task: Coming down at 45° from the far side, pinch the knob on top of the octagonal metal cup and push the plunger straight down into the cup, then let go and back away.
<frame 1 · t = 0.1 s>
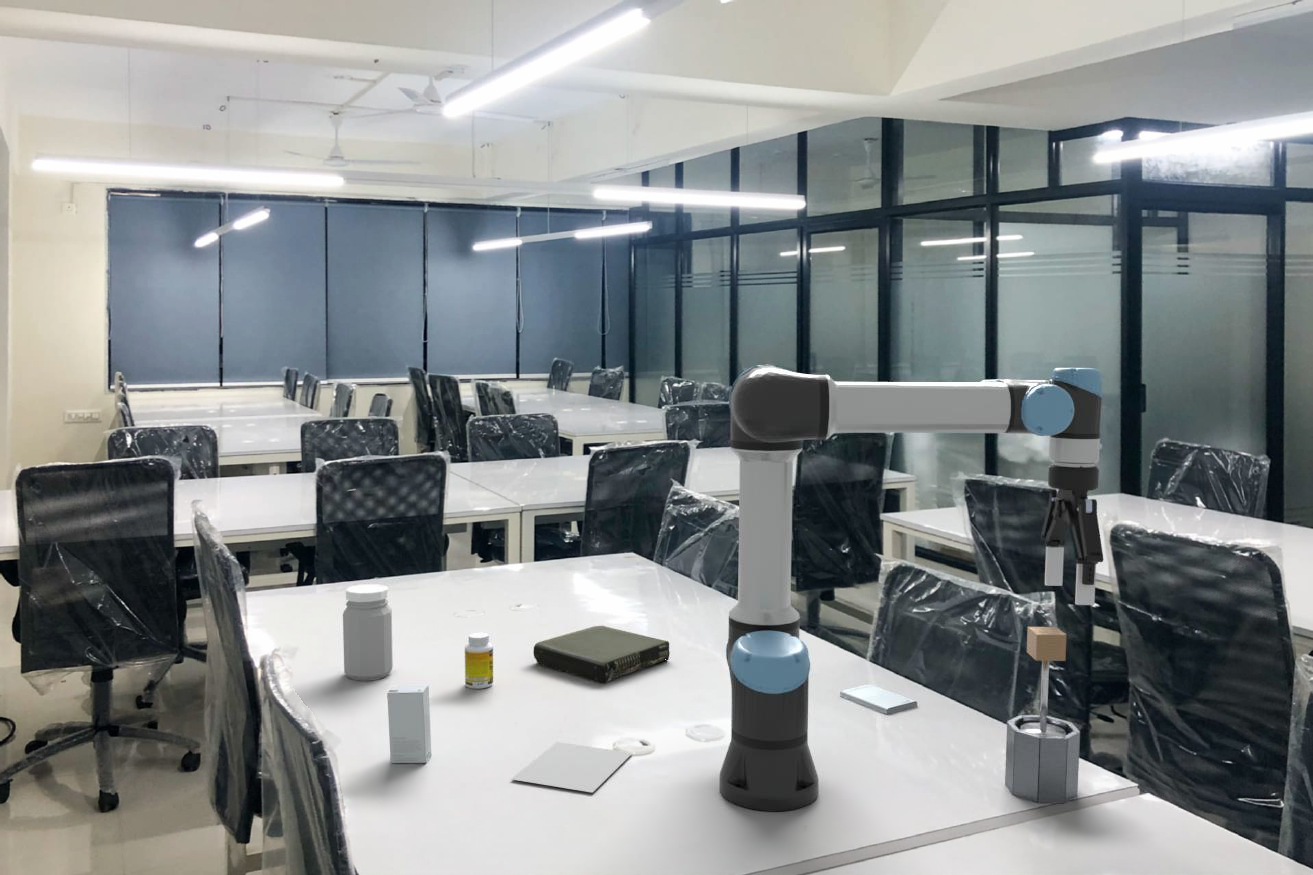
hand: (1068, 594, 175), 28 cm above the table, tool pointing down, fingers open, 13 cm apart
skincare box: (410, 760, 177), on the table
supplement bottle: (479, 686, 215), on the table
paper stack: (558, 757, 180), on the table
octagonal metal cup: (1040, 789, 166), on the table
hard drive: (878, 704, 207), on the table
jar: (368, 675, 222), on the table
network switch: (601, 665, 230), on the table
plunger: (1044, 683, 165), point 17 cm above the table, slide at 0.0 cm
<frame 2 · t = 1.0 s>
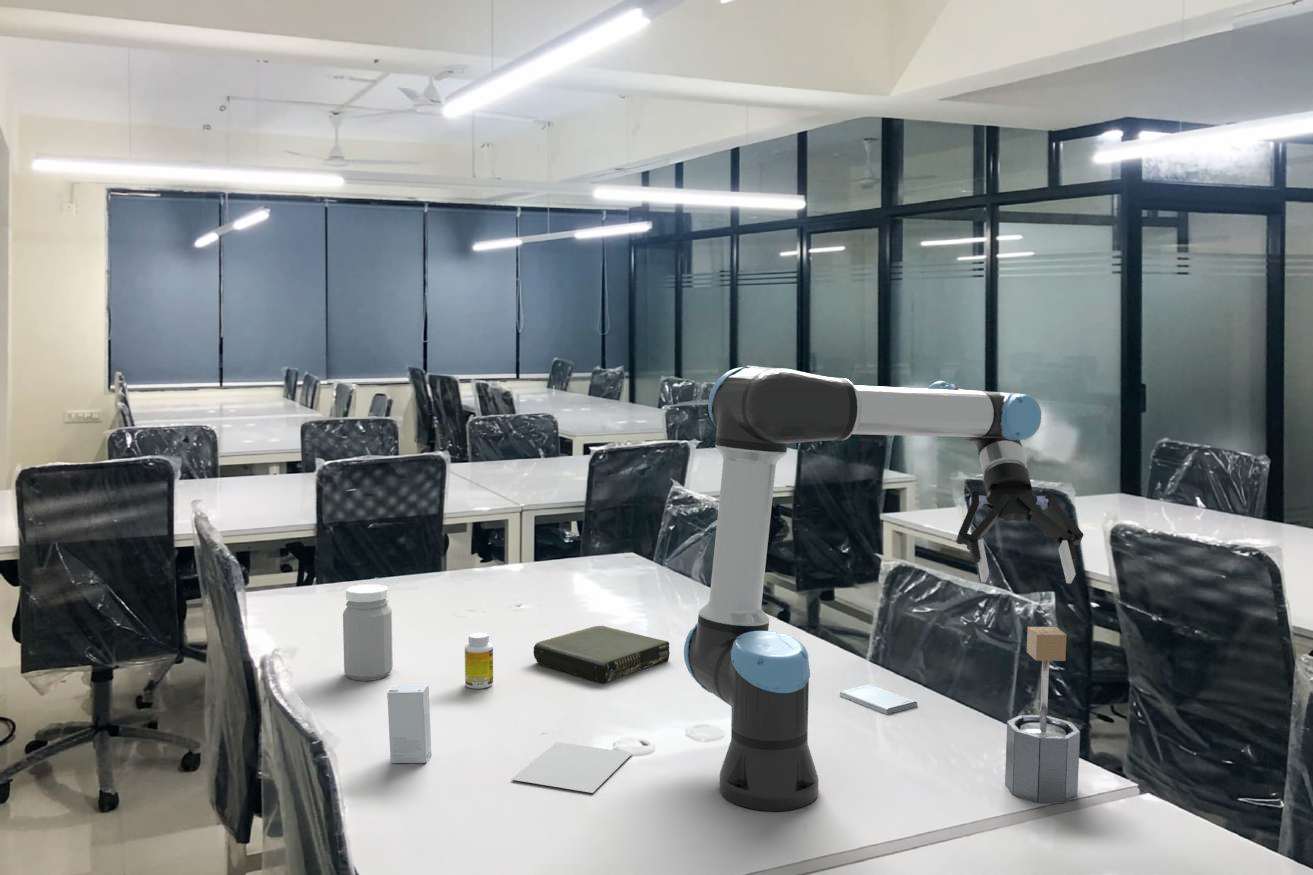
hand: (1028, 578, 173), 31 cm above the table, tool tilted 45°, fingers open, 13 cm apart
nothing on the table moved.
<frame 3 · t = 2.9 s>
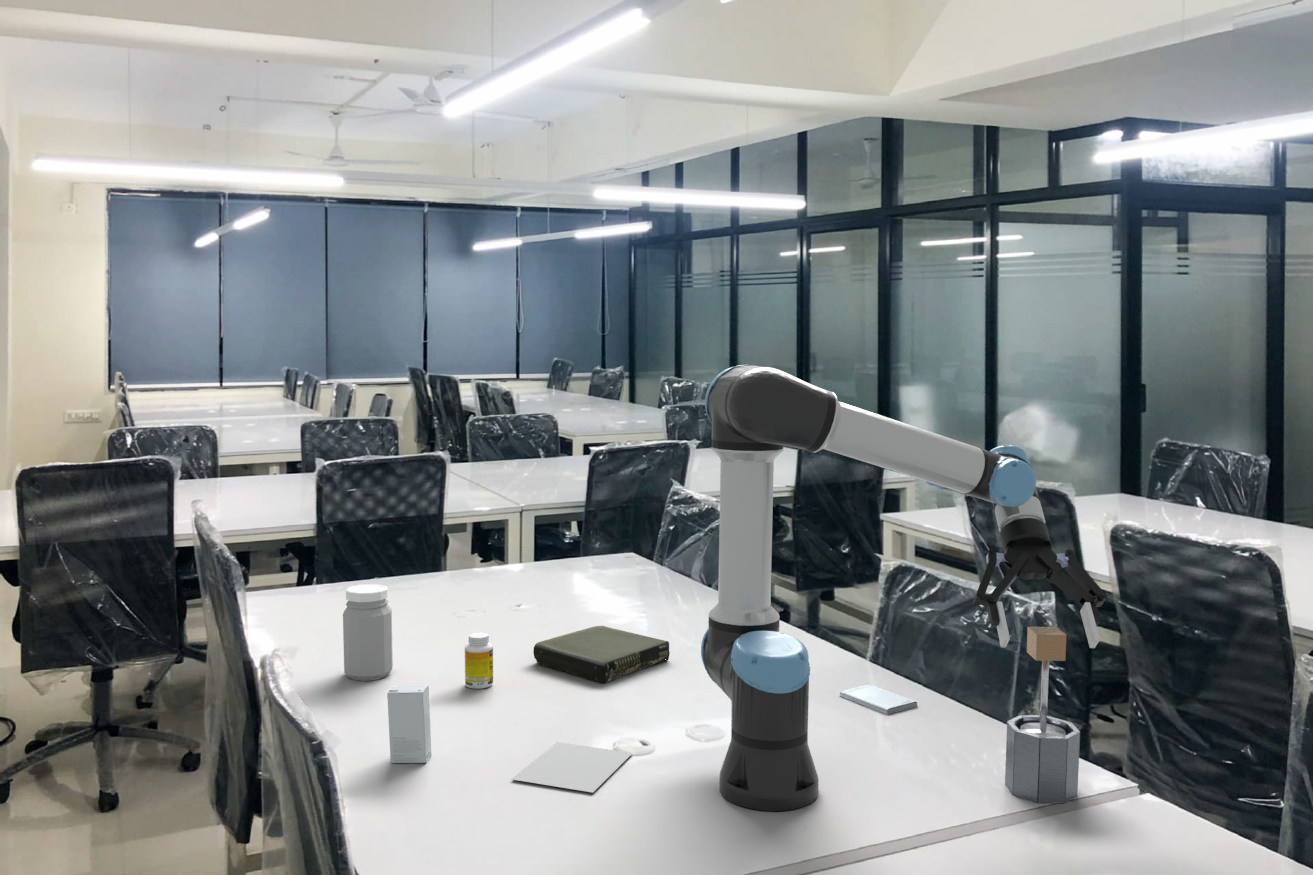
hand: (1050, 643, 165), 23 cm above the table, tool tilted 45°, fingers open, 13 cm apart
nothing on the table moved.
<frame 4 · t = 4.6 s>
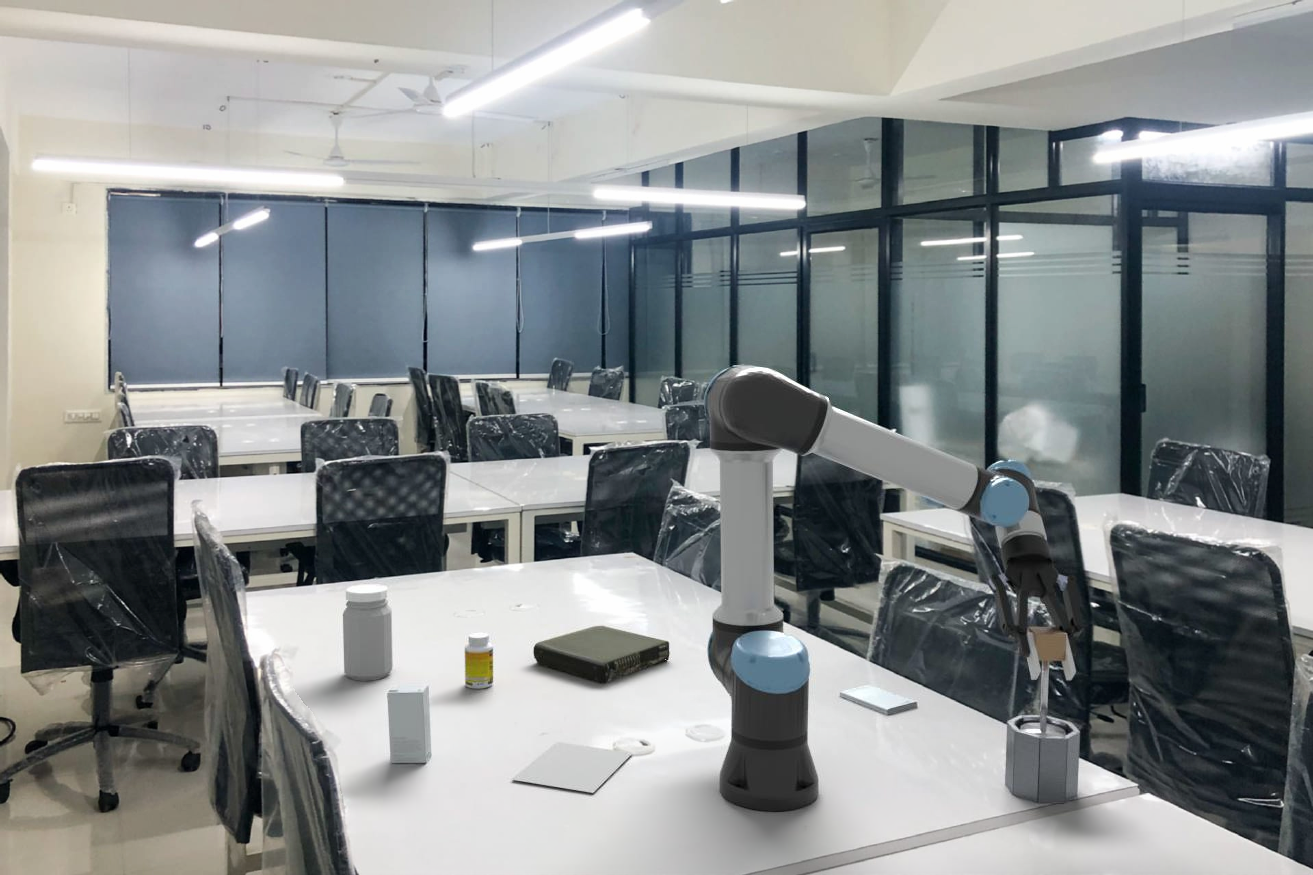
hand: (1053, 675, 161), 19 cm above the table, tool tilted 45°, fingers closed on plunger, 4 cm apart
plunger: (1044, 683, 165), point 17 cm above the table, slide at 0.0 cm, touching gripper
everything else where it was.
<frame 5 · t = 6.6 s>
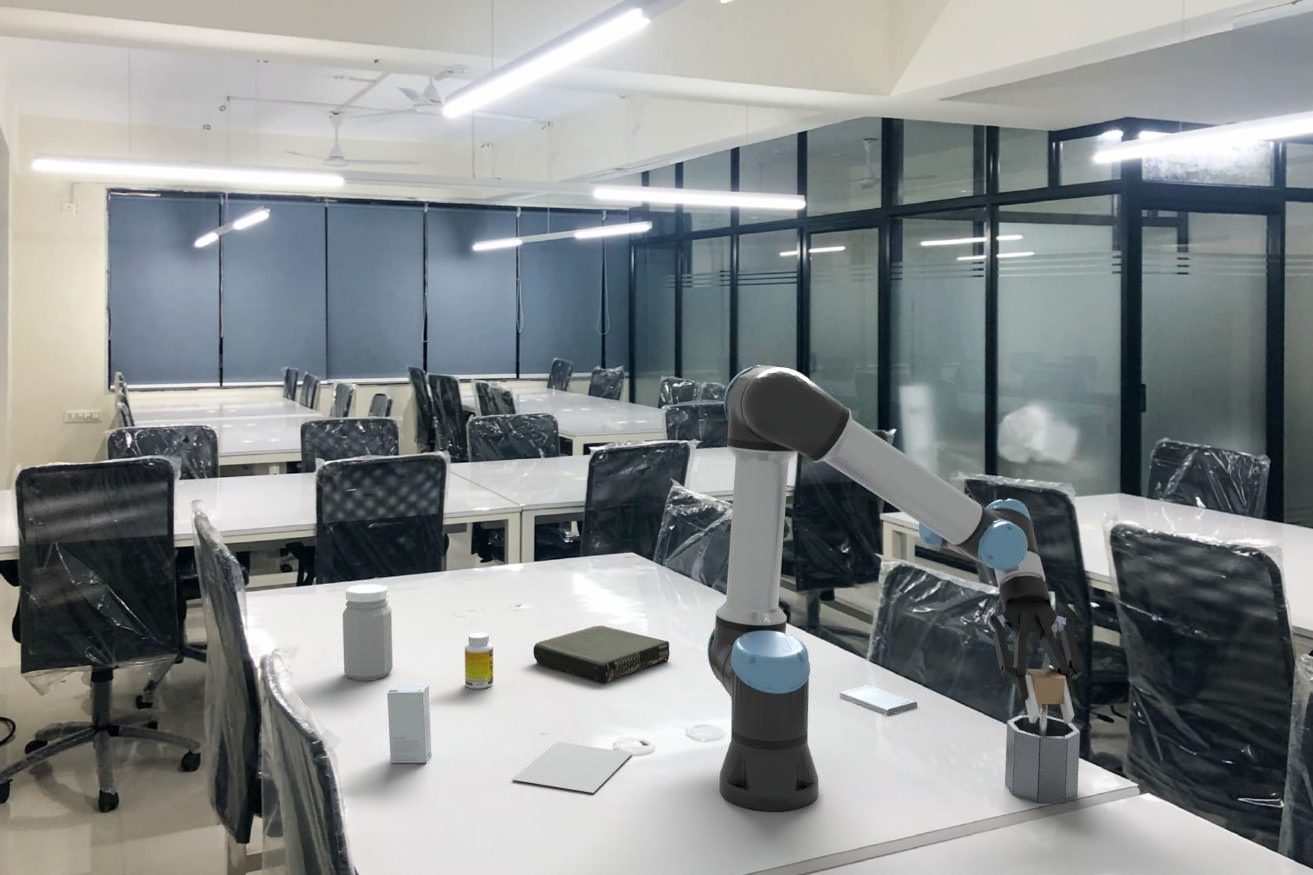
hand: (1052, 718, 161), 13 cm above the table, tool tilted 45°, fingers closed on plunger, 4 cm apart
plunger: (1043, 725, 165), point 10 cm above the table, slide at 6.7 cm, touching gripper
everything else where it was.
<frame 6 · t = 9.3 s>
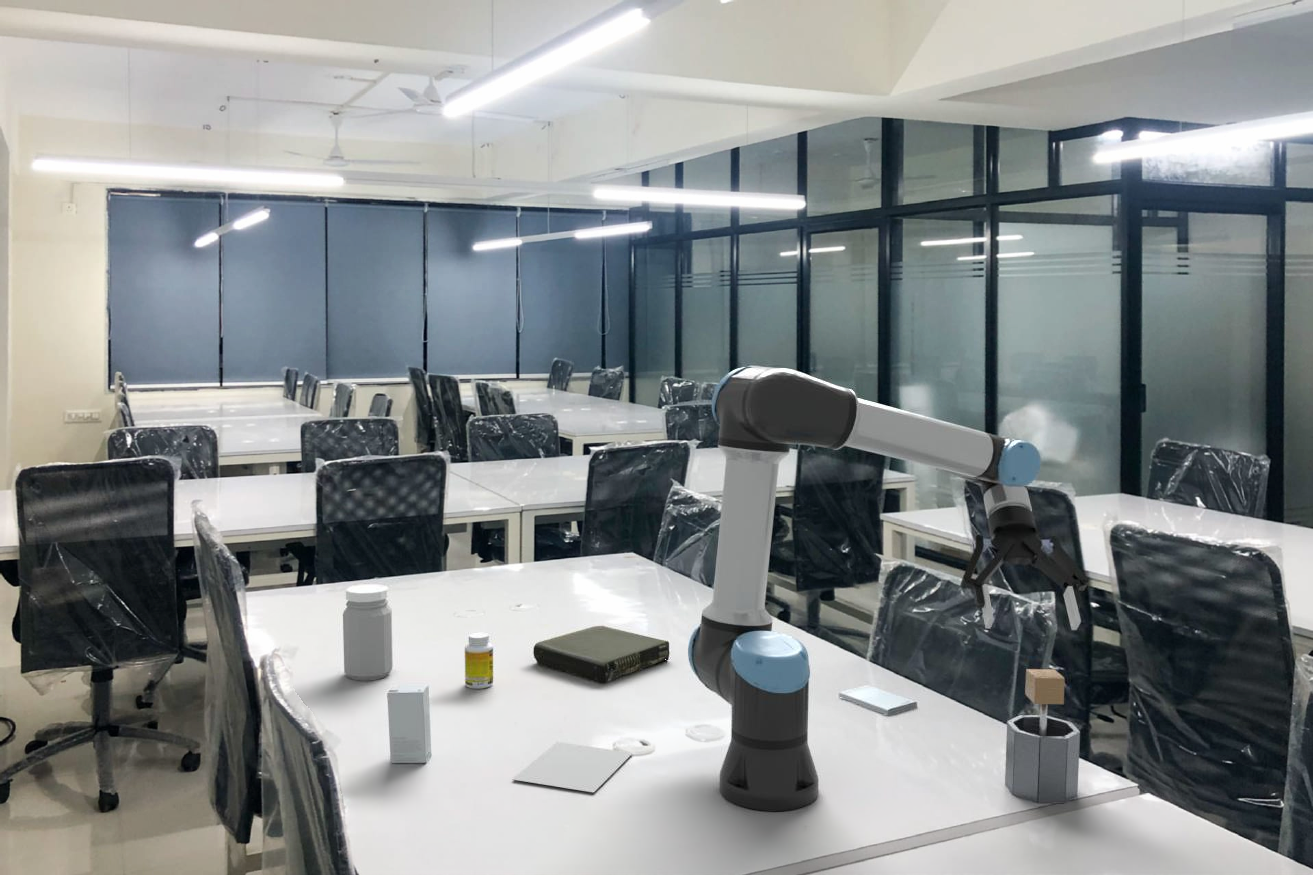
hand: (1033, 625, 172), 24 cm above the table, tool tilted 45°, fingers open, 13 cm apart
plunger: (1043, 725, 165), point 10 cm above the table, slide at 6.7 cm
everything else where it was.
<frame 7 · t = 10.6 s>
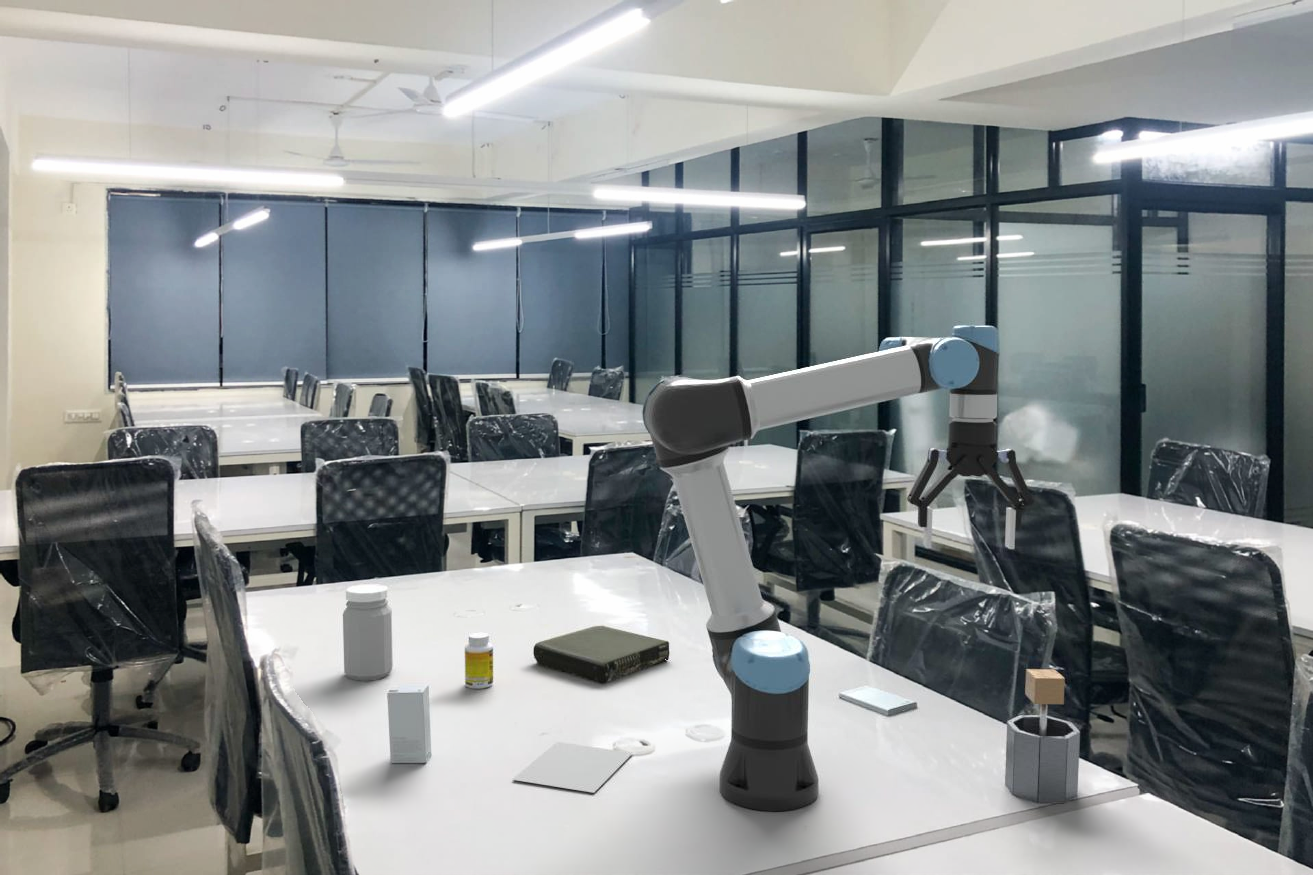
hand: (968, 547, 179), 35 cm above the table, tool pointing down, fingers open, 13 cm apart
nothing on the table moved.
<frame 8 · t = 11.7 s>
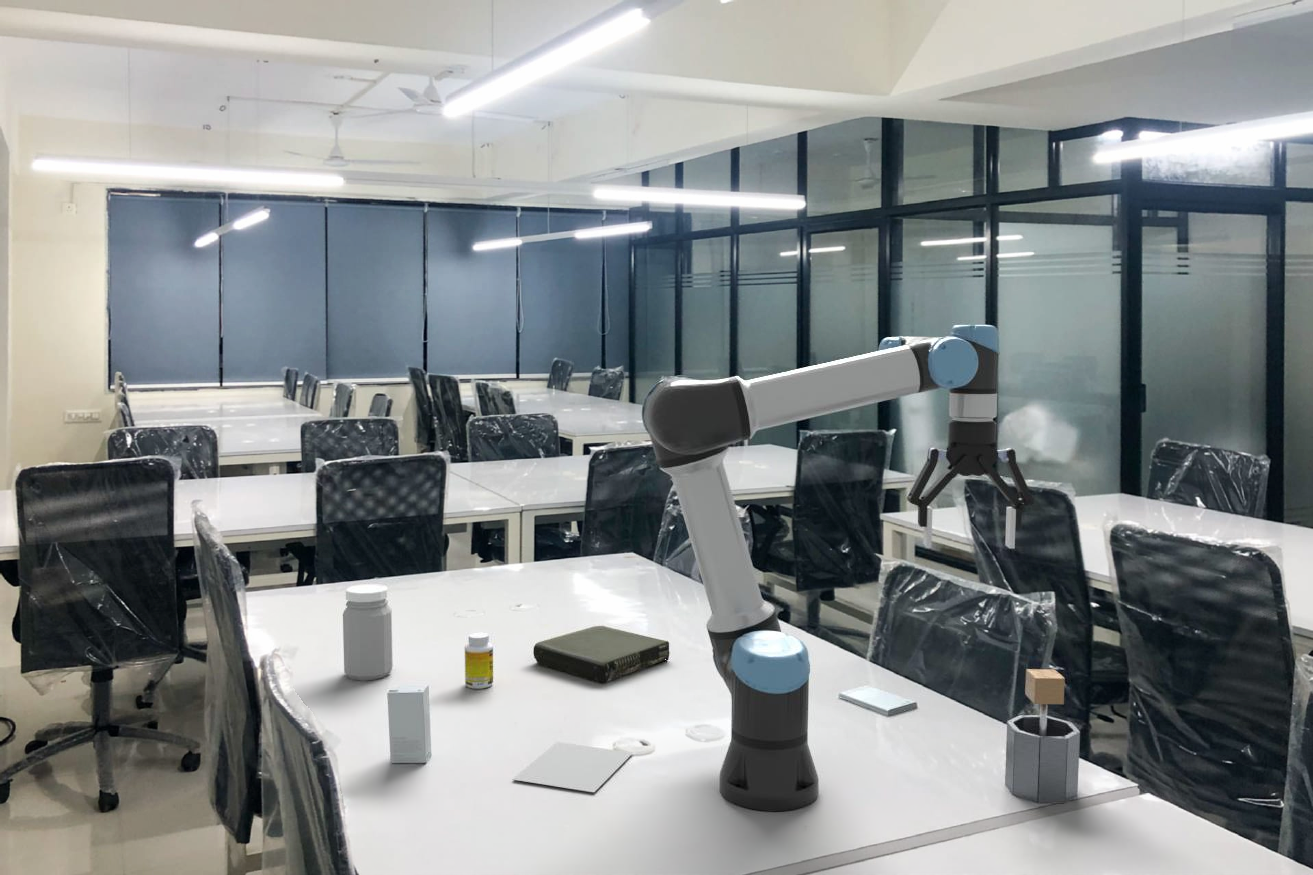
hand: (968, 546, 179), 35 cm above the table, tool pointing down, fingers open, 13 cm apart
nothing on the table moved.
at the end: plunger slide at 6.7 cm; the gripper is holding nothing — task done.
